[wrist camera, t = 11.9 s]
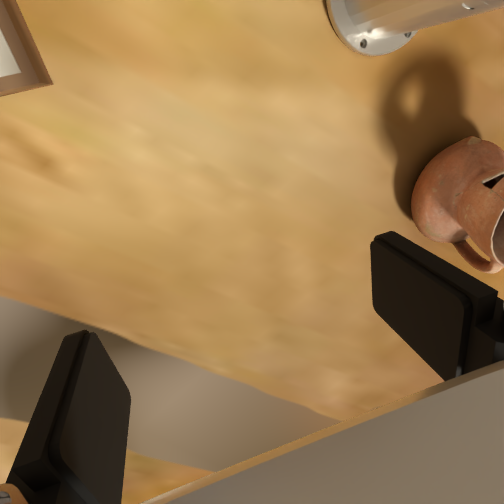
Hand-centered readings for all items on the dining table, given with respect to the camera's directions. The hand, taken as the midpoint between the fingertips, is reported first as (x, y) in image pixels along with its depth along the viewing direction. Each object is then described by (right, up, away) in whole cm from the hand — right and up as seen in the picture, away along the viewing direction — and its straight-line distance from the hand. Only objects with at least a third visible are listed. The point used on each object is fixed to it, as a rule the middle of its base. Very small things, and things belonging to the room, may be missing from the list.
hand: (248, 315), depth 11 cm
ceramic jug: (+28, +11, +38) cm, 49 cm away
